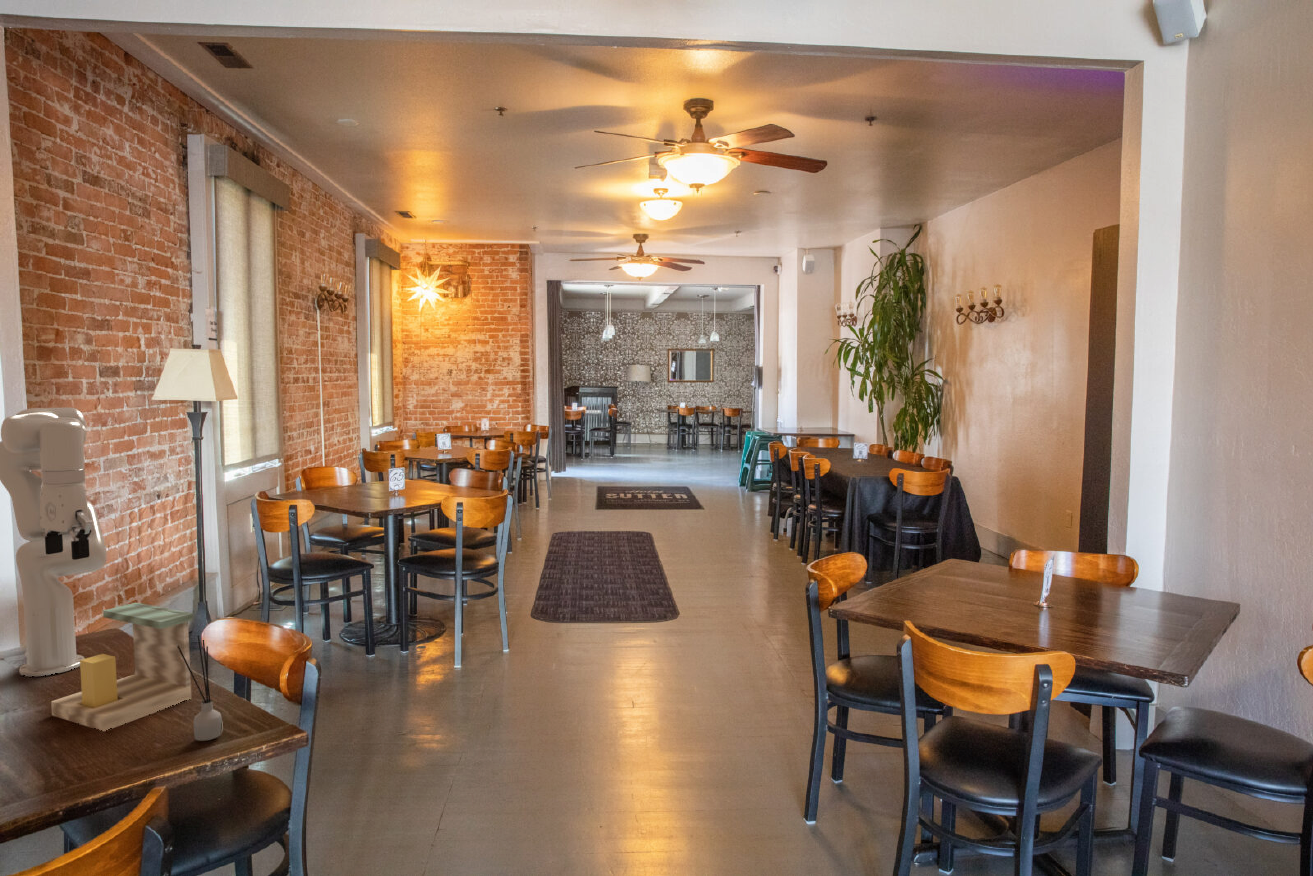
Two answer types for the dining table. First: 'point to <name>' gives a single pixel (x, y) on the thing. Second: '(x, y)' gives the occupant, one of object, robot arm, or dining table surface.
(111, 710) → the green-topped stand
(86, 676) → the peg
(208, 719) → the reed diffuser
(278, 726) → the dining table surface
